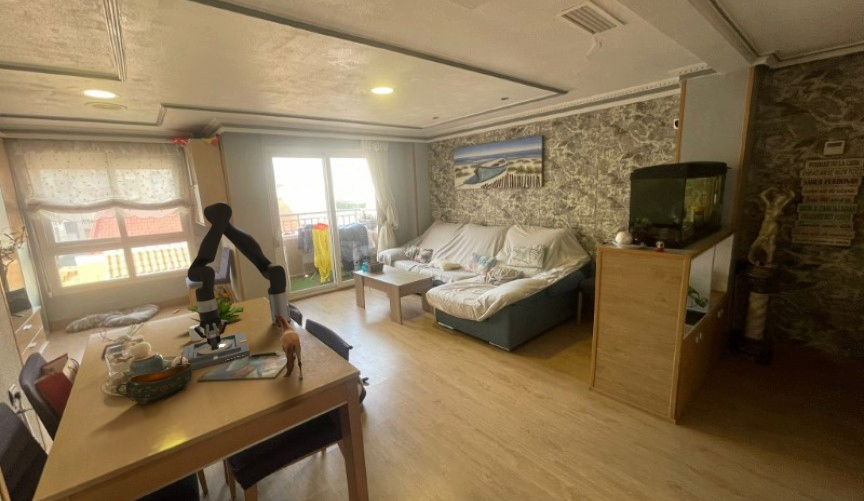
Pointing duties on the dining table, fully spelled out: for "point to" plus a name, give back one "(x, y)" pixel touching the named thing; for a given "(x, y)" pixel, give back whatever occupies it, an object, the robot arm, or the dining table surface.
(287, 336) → the horse figurine
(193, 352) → the dial board
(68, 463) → the dining table surface
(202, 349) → the dial
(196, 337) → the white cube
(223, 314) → the potted flower
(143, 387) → the dark green oval bowl
